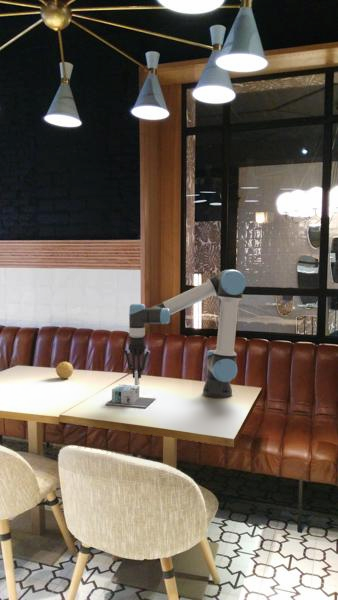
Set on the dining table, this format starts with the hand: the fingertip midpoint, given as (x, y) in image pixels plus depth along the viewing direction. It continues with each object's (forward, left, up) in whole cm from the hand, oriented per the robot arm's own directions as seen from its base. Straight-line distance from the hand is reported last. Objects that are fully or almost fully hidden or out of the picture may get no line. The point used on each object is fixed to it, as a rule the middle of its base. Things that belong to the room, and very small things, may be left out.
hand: (137, 384), depth 230 cm
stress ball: (+57, -36, -9) cm, 68 cm away
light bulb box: (0, 0, -5) cm, 5 cm away
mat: (+3, 0, -9) cm, 9 cm away
